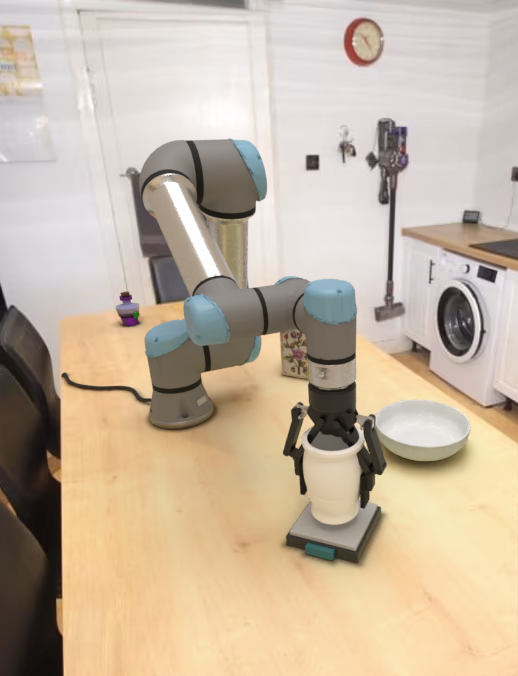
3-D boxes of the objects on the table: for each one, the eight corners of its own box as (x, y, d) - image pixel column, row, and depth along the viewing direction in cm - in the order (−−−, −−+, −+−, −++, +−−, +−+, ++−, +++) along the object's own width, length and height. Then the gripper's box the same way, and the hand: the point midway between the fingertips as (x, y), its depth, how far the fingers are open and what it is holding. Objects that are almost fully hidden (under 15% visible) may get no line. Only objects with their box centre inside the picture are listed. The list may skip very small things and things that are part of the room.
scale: (283, 548, 92) (282, 536, 91) (316, 500, 104) (316, 488, 103) (355, 567, 88) (355, 554, 87) (380, 515, 100) (381, 503, 99)
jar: (358, 534, 89) (358, 457, 82) (297, 526, 91) (293, 450, 84) (369, 495, 98) (370, 423, 92) (314, 488, 100) (311, 417, 94)
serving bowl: (407, 485, 108) (408, 456, 105) (358, 437, 125) (358, 411, 122) (488, 457, 117) (491, 430, 114) (432, 416, 134) (433, 391, 131)
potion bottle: (138, 328, 194) (132, 295, 189) (114, 328, 194) (107, 295, 189) (146, 320, 202) (141, 288, 197) (123, 320, 202) (117, 288, 197)
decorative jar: (281, 375, 156) (277, 316, 149) (299, 360, 166) (296, 304, 158) (318, 382, 152) (316, 321, 145) (335, 366, 162) (333, 308, 154)
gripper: (255, 380, 84) (265, 495, 94) (396, 403, 77) (392, 525, 87) (277, 362, 91) (284, 472, 100) (409, 381, 83) (404, 497, 93)
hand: (334, 496), depth 93 cm, fingers closed on jar, 10 cm apart
